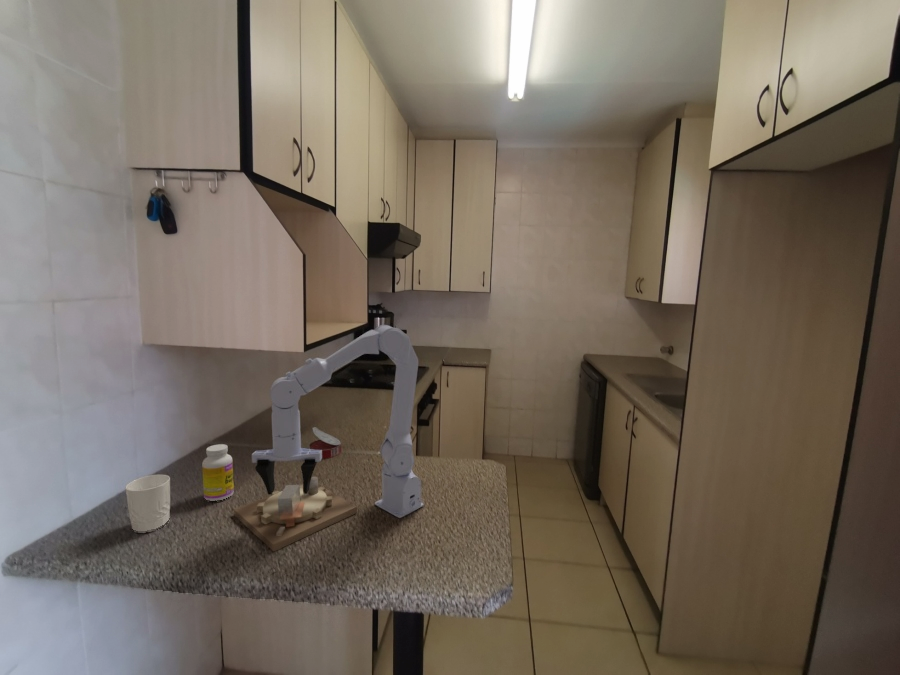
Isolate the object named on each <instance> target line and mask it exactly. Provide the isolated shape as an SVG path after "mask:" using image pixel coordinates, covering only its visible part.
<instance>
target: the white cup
mask: <svg viewBox="0 0 900 675" xmlns="http://www.w3.org/2000/svg"><path fill="white" fill-rule="evenodd" d="M124 489H125V494H126V501H127V509H128V514H129V515H128V516H129V519H130V526H131V530H132V529H133V530H136V531H147V530H151V529H156V528H158V527H160V526H162V525H164V524H165V523H166V522H167V521H168V520H169V518H170V517H171V514H170V510H171V477H170V476H169V475H167V474H151V475H146V476H142V477H139V478H137V479H134V480H132V481H130V482H128V483H127V484H126V485H125V488H124ZM170 519H171V518H170ZM169 521H170V520H169ZM133 530H132V531H133Z"/></svg>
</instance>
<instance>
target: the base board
mask: <svg viewBox="0 0 900 675" xmlns="http://www.w3.org/2000/svg"><path fill="white" fill-rule="evenodd" d="M301 485H303V483H301ZM319 487H323V485H321V484H320V483H318V488H319ZM326 495H327V496H332V505H330V506H326V508H325V509H324V510H323V511H322V516H321V517H320V518H318V519H315V518H311V519H308V520H305V521H302V522H297V523H295V525H294V526H290V527H286V524H278V523H273V522H270V523H268V524H264V523H262V522H261V516H262V515H263V512H258V513H257V505H258V503H262V502H265V501H266V500H267V499H268V498H269V497H271V495H268V496H265V497H263V498H260V499H257V500H255V501H252V502H250V503H249V502H248V503H247V504H245V505H241V506H239V507H235V508H233V516H234V517H235V518H236V519H237V520H239V521H240V522H241V523H242V524H243V525H244V526H245V527H246V528H247V529H248V530H250V531H251V532H252V534H254V535H255V536H256V537H257V538H258V539H260V540H261V542H263V543H264V545H265V546H267V547H268V548H269V549H270V550H271V551H272V552H277V551H278V550H281V549H283V548H284V547H287V546H289V545H291V544H293V543H296V542H298V541H300V540H302V539H304V538H306V537H308V536H310V535H312V534H315V533H316V532H318V531H321V530H323V529H325V528H328V527H330V526H332V525H334V524H337V523H338V522H340V521H343V520H345V519H347V518H348V517H349V518H350V517H351V516H353V515H355V514H357V513H358V507H357V506H356V505H355V504H354V503H352V502H350V501H348V500H346V499H344V498H343V497H341V496H340V495H338V494H336V493H334V492H332V491H331V490H329V489H327V488H326Z"/></svg>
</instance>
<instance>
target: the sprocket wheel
mask: <svg viewBox="0 0 900 675" xmlns="http://www.w3.org/2000/svg"><path fill="white" fill-rule="evenodd" d="M318 484H319V478H318V476H312V477H311V481H310V487H309V491H308V493H307V494H303V485H302V484H299V485H300V503H299V505H298V506H297V508H296V510H295V512H294V514H293V515H279V510H278V497H279V496H280V494H281V493H282V491H283V490H281V491H279V490H274V491H273V493H272V494H271V495H270V496H271V497H269V498H268V499H267V500H266V501H265V502H262V503H258V505H257V513H258V512H263V515H262V516H261V522H262V523H264V524H268V523H270V522H273V523H278V524H286V527H290V526H294V525H295V523H297V522H302V521H305V520H308V519H311V518H315V519H318V518H320V517H321V516H322V511H323V510H324V509H325V508H326V506H330V505H332V496H327V495H326V489H327V488H326V487H324V486H322V487H319V488H318Z"/></svg>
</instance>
